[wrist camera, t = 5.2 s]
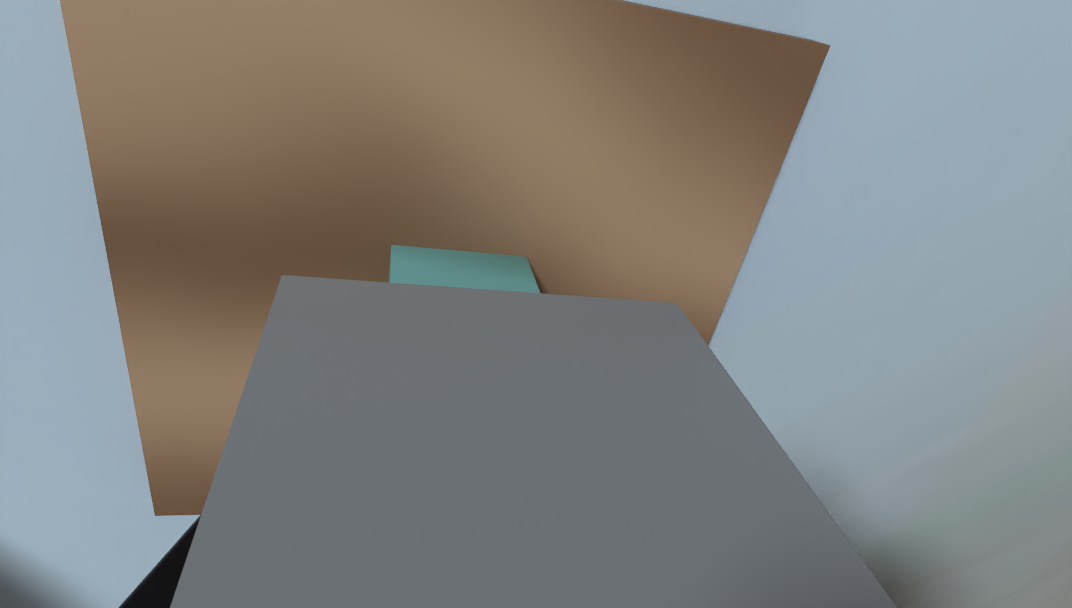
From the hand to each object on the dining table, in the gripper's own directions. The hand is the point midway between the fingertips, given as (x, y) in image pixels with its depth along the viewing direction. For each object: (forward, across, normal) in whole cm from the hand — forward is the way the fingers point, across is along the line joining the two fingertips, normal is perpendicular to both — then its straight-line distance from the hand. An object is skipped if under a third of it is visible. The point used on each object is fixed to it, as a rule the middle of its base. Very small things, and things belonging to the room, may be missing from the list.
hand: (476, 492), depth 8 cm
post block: (+5, 0, 0) cm, 5 cm away
